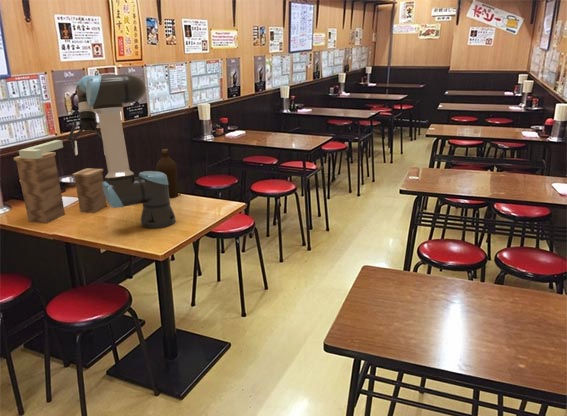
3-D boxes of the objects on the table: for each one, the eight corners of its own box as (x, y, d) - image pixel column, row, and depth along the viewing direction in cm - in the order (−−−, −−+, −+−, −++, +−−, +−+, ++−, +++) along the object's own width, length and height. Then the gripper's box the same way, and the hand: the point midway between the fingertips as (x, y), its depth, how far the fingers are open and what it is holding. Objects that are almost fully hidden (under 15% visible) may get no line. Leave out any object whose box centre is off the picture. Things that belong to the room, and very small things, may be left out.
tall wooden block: (66, 214, 219) (55, 152, 209) (48, 223, 207) (35, 158, 197) (46, 212, 221) (34, 151, 212) (26, 222, 209) (13, 157, 200)
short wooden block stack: (108, 205, 230) (103, 168, 224) (95, 213, 220) (89, 174, 214) (92, 204, 232) (86, 168, 226) (78, 212, 222) (72, 173, 215)
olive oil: (176, 191, 251) (172, 146, 243) (181, 197, 242) (177, 150, 234) (157, 194, 247) (152, 148, 239) (161, 200, 238) (156, 152, 230)
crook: (56, 147, 221) (55, 140, 219) (72, 147, 219) (71, 140, 218) (20, 158, 198) (18, 150, 197) (37, 158, 197) (35, 151, 196)
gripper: (111, 115, 236) (115, 156, 235) (58, 113, 222) (62, 156, 221) (115, 111, 230) (119, 153, 229) (60, 108, 216) (64, 153, 215)
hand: (91, 154), depth 225 cm, fingers open, 13 cm apart
